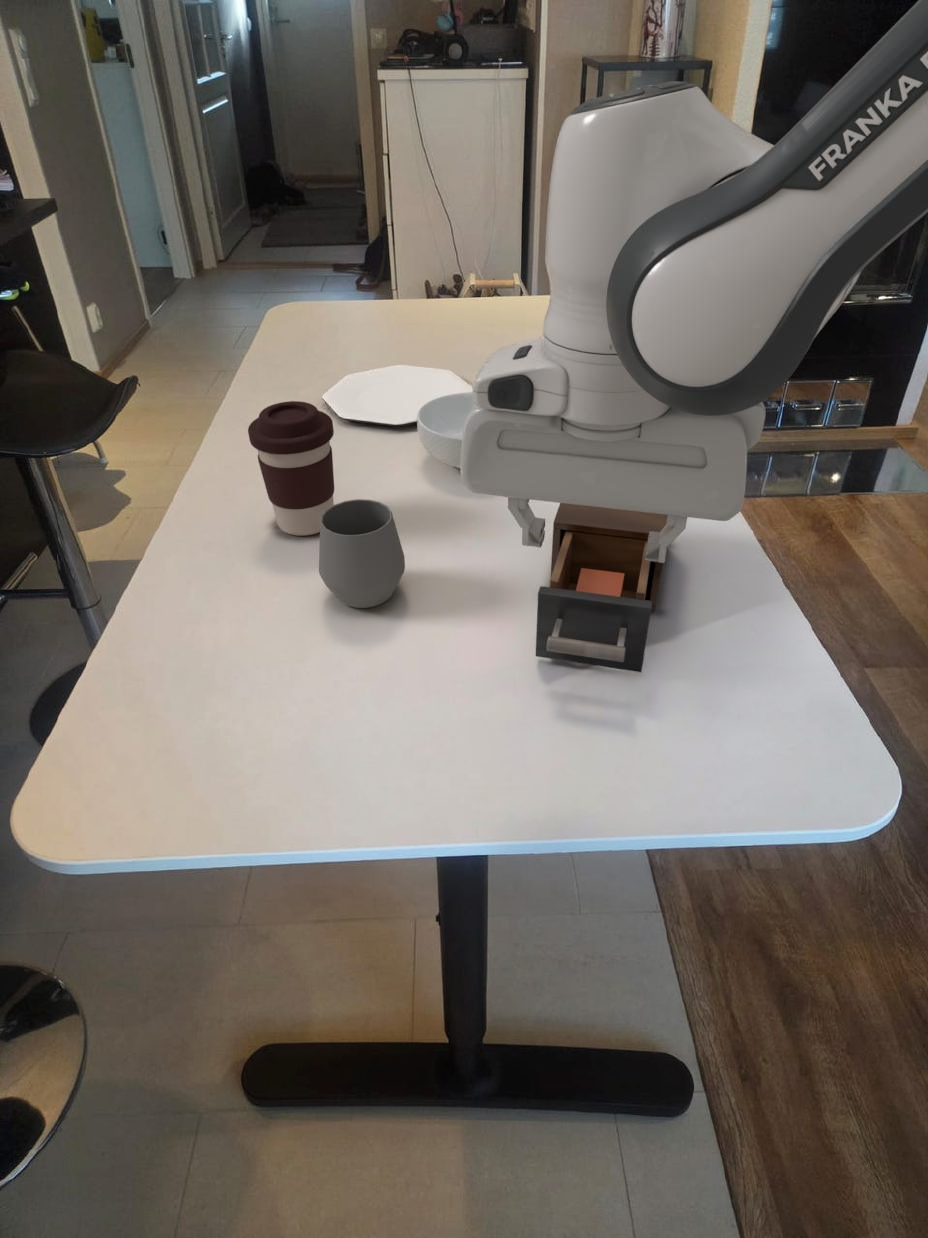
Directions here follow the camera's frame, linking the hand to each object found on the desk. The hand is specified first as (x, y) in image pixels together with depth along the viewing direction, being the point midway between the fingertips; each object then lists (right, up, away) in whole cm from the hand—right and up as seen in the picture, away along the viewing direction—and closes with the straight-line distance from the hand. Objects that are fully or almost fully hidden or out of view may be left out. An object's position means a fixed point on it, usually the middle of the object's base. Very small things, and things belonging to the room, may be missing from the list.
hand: (593, 550), depth 62 cm
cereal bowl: (-8, +18, +54) cm, 58 cm away
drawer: (+3, -7, +20) cm, 21 cm away
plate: (-21, +31, +72) cm, 81 cm away
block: (+4, -5, +21) cm, 22 cm away
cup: (-21, -3, +28) cm, 35 cm away
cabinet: (+7, 0, +31) cm, 32 cm away
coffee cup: (-30, +7, +41) cm, 52 cm away
